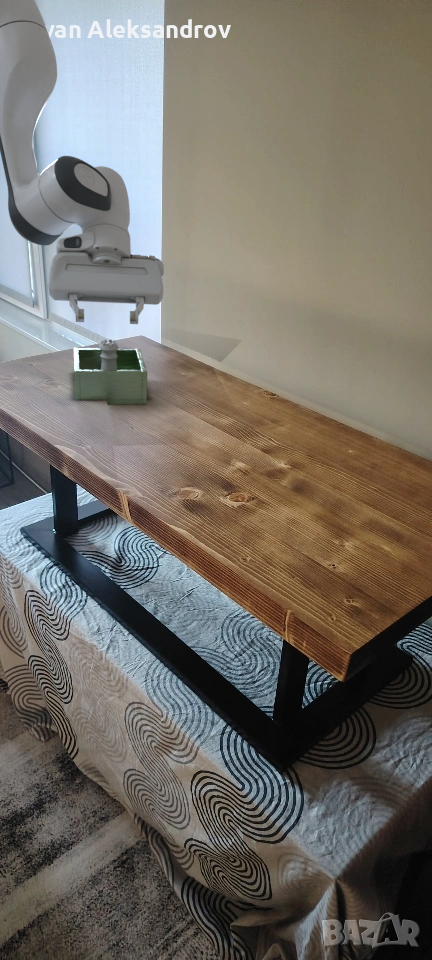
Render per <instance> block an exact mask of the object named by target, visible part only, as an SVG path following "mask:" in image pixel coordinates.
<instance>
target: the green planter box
mask: <svg viewBox="0 0 432 960" xmlns="http://www.w3.org/2000/svg"><path fill="white" fill-rule="evenodd" d="M101 354H102V351H101V349H100V348H99V347H95V348H94V347H93V348H92V347H91V348H90V347H73V362H74V363H73V366H74V369H73V370H74V399H75V400H81V401H82V400H83V401H84V400H86V401H89V400H91V401H93V400H98V401H99V400H106V404H107V405H108V406H109V405H111V406H113V405H114V406H115V405H126V406H127V405H130V406H131V405H133V406H134V405H147V397H148V396H147V395H148V392H147V391H148V369H147V366H146V363H145V360H144V357H143V353H142V351H141V349H140V348H118V350H117V351H116V355H117V358H116V364H117V370H101V363H102V357H101Z"/></svg>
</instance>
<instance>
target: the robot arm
mask: <svg viewBox="0 0 432 960" xmlns="http://www.w3.org/2000/svg"><path fill="white" fill-rule="evenodd" d="M42 15H43V14H42V13H41V11H40V9H39V6H38V4H37V3H36V0H0V158H1V162H2V167H3V170H4V176H5V180H6V186H7V210H8V215H9V219H10V222H11V224H12V226H13V228H14V229H15V231H16V232H17V233H18V235H20V236H21V237H22V238H23V239H25V240H26V241H28V242H30V243H33V244H34V245H39V246H45V247H46V246H50V245H52V244H53V243H55V242H56V254H55V255H54V256H53V258H52V260H51V263H50V268H49V272H48V293H49V294H48V295H49V296H50V298H51V299H53V300H54V301H62V302H63V301H64V302H69V307H70V308H71V310H72V311H73V313H74V315H75V322H76V323H85V309H84V308H80V307H79V306H78V304H79V302H83V303H84V302H87V303H109V304H111V303H112V304H128V305H129V304H131V305H135V309H134V310H129V324H130V325H139V316H140V315H141V313H142V312H143V310H144V306H145V305H155V306H157V305H159V304H160V303H161V302H162V301H163V298H164V282H163V276H164V274H165V268H164V263H163V261H162V260H161V259H159V258H157V257H156V256H155V255H142V254H133V253H132V250H131V249H132V248H131V234H130V232H129V227H130V222H131V213H130V211H131V210H130V208H131V207H130V200H129V193H128V190H127V187H126V184H125V181H124V179H123V177H122V176H121V175H120V173H119V172H117V171H116V170H114V169H113V168H111V167H108V166H105V165H103V166H102V165H101V166H99V165H98V166H95V167H94V166H93V165H91V164H90V163H88V162H86V161H84V160H82V159H81V158H78V157H76V156H72V155H62V156H59V157H58V158H57V159H56V160H54V161H53V162H52V163H50V164H49V165H48V166H47V167H46V168H45V169H43V170H42V172H41V173H39V169H38V165H37V163H38V162H37V159H36V154H35V150H34V134H35V130H36V126H37V123H38V121H39V119H40V117H41V114H42V112H43V110H44V108H45V107H46V105H47V103H48V101H49V99H50V97H51V96H52V94H53V92H54V90H55V87H56V85H57V81H58V65H57V63H58V62H57V58H56V57H57V56H56V54H55V49H54V46H53V43H52V40H51V38H50V34H49V30H48V29H47V25H46V23H45V21H44V18H43V16H42ZM74 225H76V226H79V227H80V229H81V233H79V234H76V235H71V236H67V237H66V236H65V237H62V238H60V237H61V236H62V235H63V234H64V233H65V232H66V231H67V230H69V229H70V228H71V227H72V226H74ZM57 239H58V240H57ZM56 240H57V241H56Z"/></svg>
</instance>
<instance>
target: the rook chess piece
mask: <svg viewBox="0 0 432 960" xmlns="http://www.w3.org/2000/svg"><path fill="white" fill-rule="evenodd" d="M98 348H100V349H101V351H102V354H101V357H102V363H101V370H117V364H116V358H117V355H116V351H117V350H118V349H120V347H119V346H118V343H117V340H115V339H113V340H112V338H111V339H108V340H107V339H103V340H101V341H100V344H99V346H98Z"/></svg>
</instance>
